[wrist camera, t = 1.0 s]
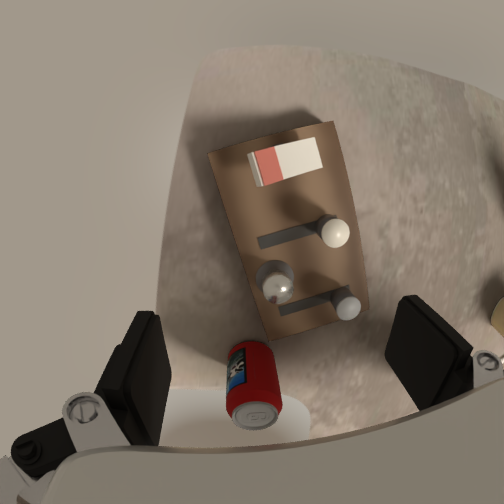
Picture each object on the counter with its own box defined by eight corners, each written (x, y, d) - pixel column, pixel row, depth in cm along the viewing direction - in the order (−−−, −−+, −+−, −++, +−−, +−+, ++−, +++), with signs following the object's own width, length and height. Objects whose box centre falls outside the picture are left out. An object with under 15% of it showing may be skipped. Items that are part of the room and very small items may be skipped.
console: (325, 123, 30) (338, 118, 26) (361, 299, 37) (374, 316, 33) (210, 154, 31) (205, 152, 26) (266, 328, 38) (270, 349, 34)
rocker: (308, 138, 27) (315, 136, 26) (316, 168, 28) (324, 167, 27) (246, 154, 25) (252, 152, 24) (256, 186, 26) (262, 186, 25)
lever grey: (348, 281, 33) (359, 294, 29) (351, 300, 34) (362, 315, 30) (326, 288, 33) (335, 302, 29) (329, 308, 34) (338, 323, 30)
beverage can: (225, 338, 38) (222, 401, 27) (273, 336, 39) (285, 397, 27) (229, 373, 40) (228, 434, 29) (273, 371, 41) (283, 431, 29)
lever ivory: (334, 209, 30) (346, 215, 26) (339, 233, 31) (351, 243, 27) (310, 216, 30) (319, 223, 27) (315, 241, 31) (325, 251, 27)
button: (286, 265, 31) (289, 272, 29) (293, 290, 32) (296, 298, 30) (258, 274, 31) (259, 281, 29) (266, 298, 32) (267, 307, 30)
